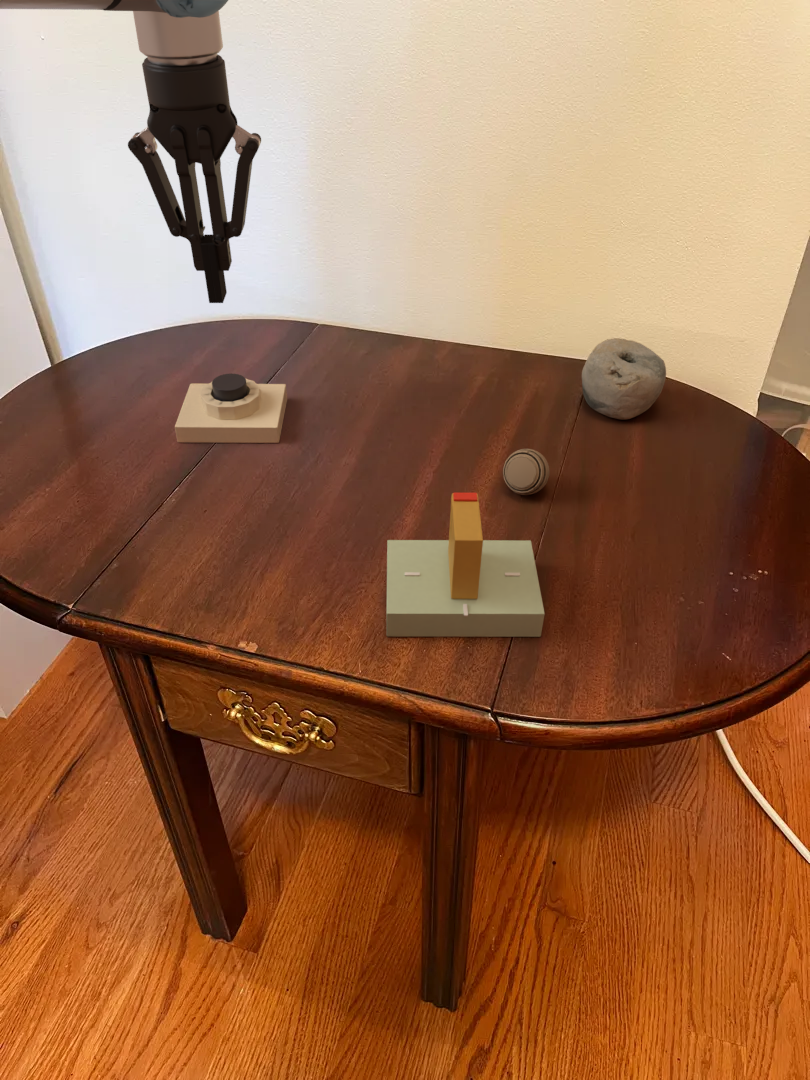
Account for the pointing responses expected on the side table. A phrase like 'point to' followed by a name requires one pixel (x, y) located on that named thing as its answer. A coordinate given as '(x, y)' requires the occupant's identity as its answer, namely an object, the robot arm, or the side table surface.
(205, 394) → the doorbell
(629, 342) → the stone
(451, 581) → the lock knob
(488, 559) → the plate
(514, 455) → the door knob
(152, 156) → the robot arm
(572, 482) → the side table surface
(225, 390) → the bell button
